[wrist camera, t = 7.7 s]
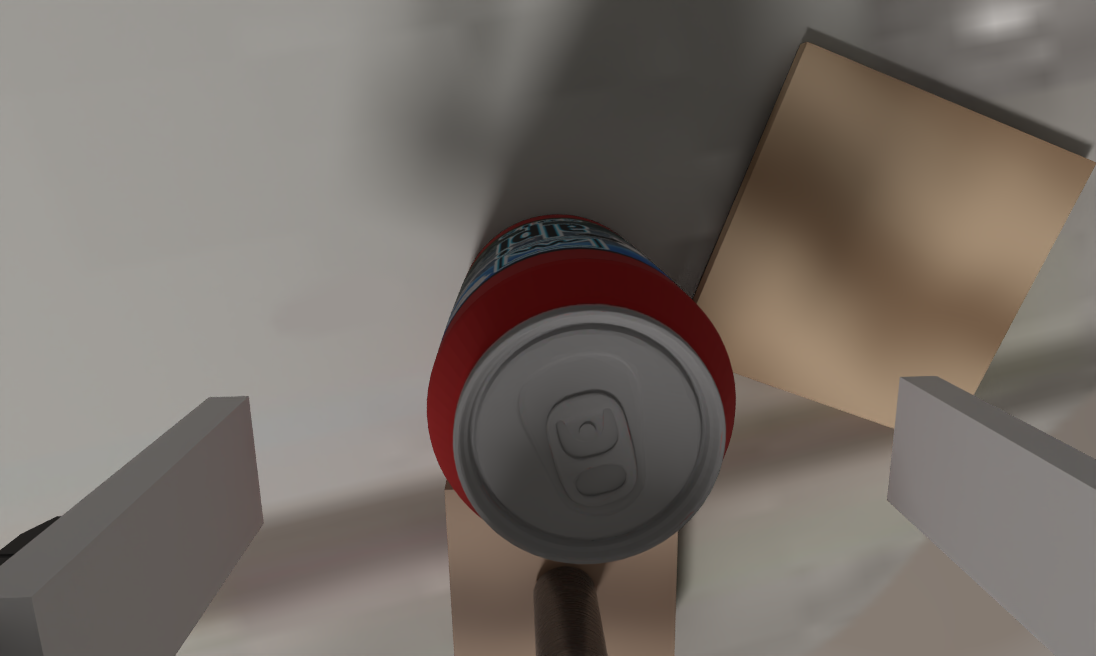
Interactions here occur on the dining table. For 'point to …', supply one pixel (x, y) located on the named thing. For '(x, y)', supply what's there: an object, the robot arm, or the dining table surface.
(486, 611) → the latch housing
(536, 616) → the t key
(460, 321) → the beverage can
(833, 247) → the mat
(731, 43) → the dining table surface
